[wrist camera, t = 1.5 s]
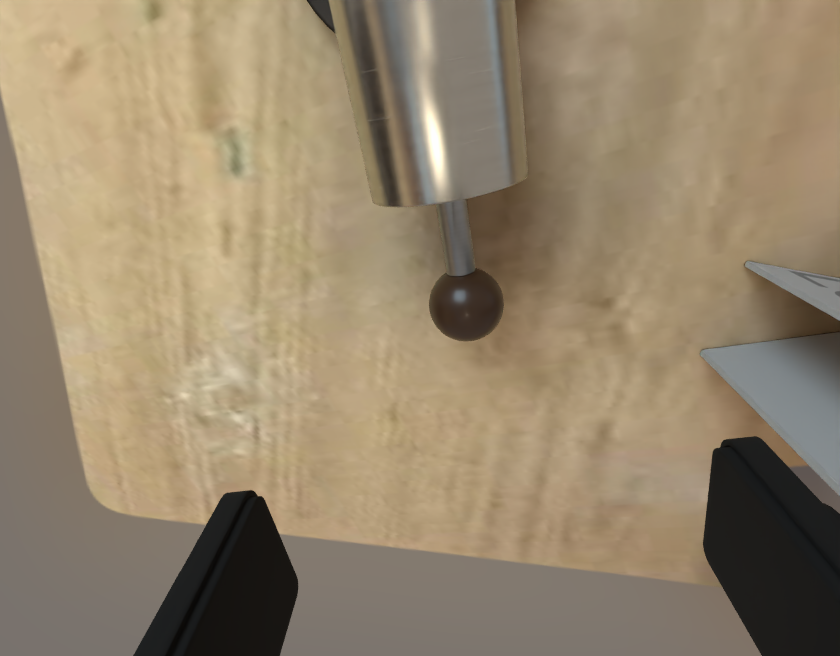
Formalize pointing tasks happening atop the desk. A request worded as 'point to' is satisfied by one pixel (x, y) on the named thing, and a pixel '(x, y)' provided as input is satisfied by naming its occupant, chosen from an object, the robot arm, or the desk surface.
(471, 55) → the knobbed metal cylinder
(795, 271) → the brochure
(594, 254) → the desk surface
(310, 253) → the desk surface
